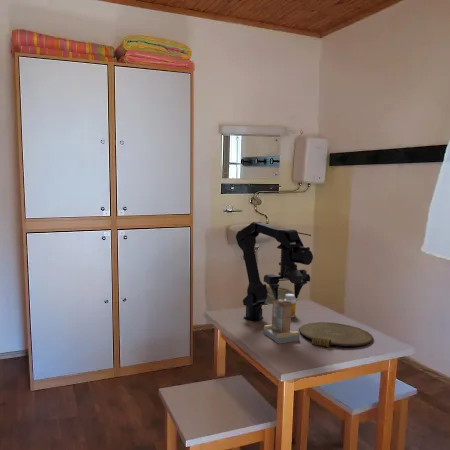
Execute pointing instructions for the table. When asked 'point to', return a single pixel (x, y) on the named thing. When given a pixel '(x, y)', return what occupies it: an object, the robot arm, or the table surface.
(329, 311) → the table surface
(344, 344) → the decorative disc
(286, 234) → the robot arm
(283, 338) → the rail board
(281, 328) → the wooden box
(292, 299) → the supplement bottle
